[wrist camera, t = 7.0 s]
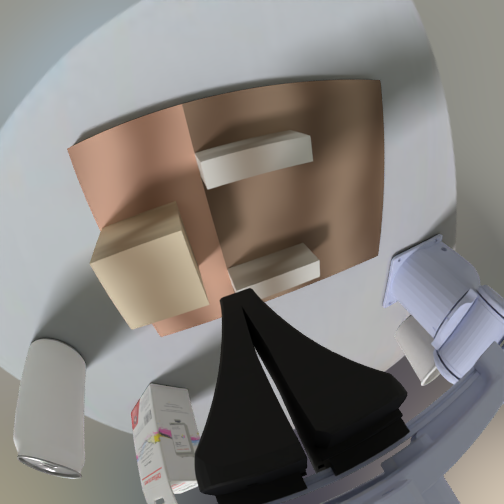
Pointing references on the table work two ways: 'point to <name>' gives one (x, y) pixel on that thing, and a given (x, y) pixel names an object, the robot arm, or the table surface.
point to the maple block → (149, 267)
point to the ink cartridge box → (165, 442)
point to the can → (51, 409)
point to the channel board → (251, 183)
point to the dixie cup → (417, 349)
